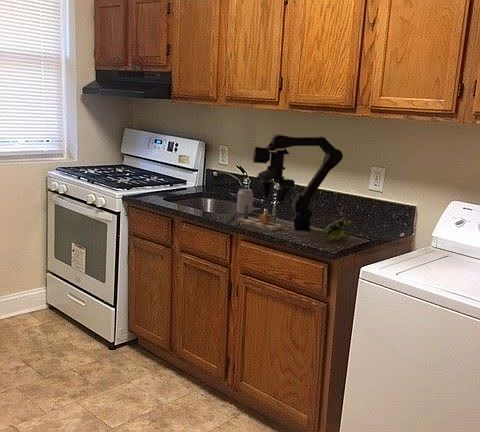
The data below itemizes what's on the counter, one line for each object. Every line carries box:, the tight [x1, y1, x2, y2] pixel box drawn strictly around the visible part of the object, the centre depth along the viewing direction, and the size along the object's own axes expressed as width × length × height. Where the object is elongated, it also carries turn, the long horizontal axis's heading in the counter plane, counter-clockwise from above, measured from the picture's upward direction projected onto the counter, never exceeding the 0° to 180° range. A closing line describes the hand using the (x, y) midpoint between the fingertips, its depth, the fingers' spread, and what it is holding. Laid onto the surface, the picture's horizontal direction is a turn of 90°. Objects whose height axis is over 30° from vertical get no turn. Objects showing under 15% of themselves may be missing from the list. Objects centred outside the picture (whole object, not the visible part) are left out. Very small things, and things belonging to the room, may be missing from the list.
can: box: [236, 188, 254, 215], centre depth 267 cm, size 8×8×12 cm
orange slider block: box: [259, 208, 273, 224], centre depth 241 cm, size 4×4×6 cm
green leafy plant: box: [324, 216, 352, 242], centre depth 223 cm, size 11×11×12 cm
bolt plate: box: [236, 204, 283, 232], centre depth 243 cm, size 21×7×8 cm, turn 46°
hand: (273, 199), depth 236 cm, fingers open, 9 cm apart
